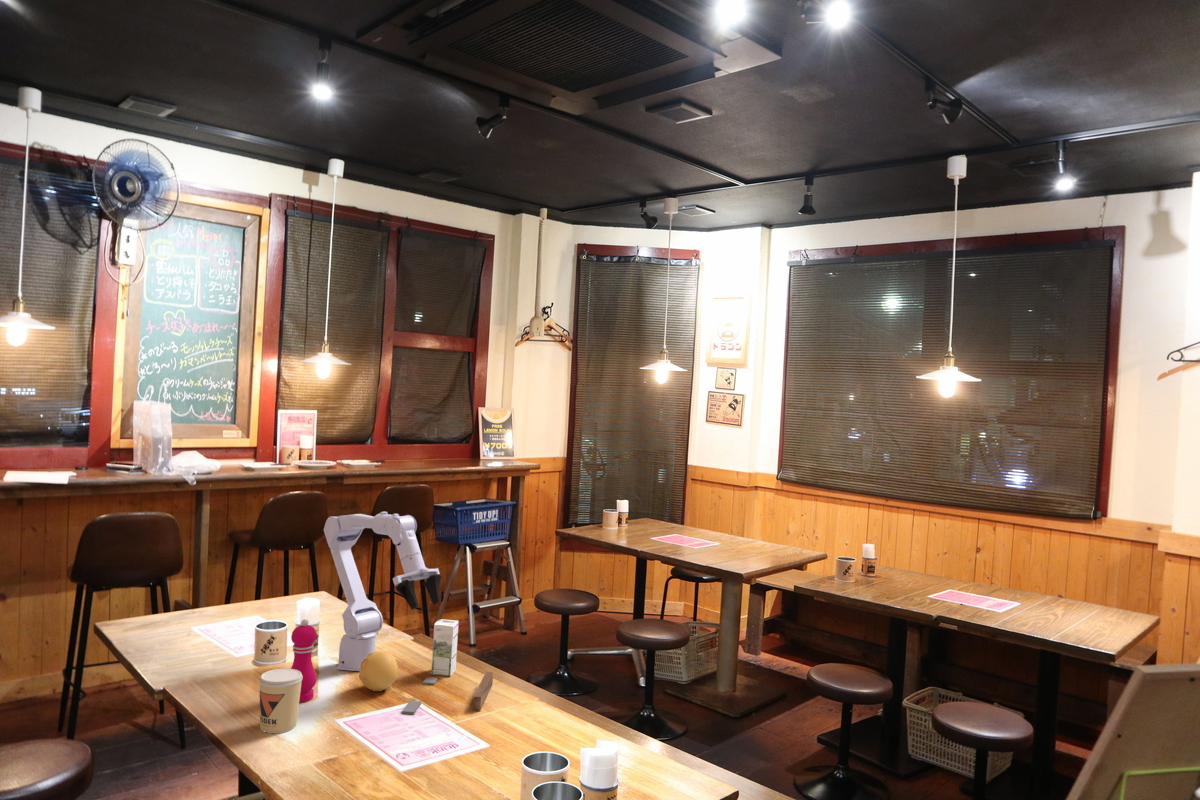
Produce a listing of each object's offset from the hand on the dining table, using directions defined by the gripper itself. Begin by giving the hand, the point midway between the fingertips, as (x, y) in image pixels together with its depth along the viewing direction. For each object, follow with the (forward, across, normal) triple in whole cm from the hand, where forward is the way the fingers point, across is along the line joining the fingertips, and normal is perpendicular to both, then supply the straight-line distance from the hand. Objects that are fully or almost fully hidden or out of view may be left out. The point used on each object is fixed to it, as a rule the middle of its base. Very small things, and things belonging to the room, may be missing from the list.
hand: (426, 605), depth 208 cm
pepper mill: (+11, -25, +26) cm, 38 cm away
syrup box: (+17, +13, +16) cm, 27 cm away
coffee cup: (+16, -38, +17) cm, 44 cm away
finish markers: (+21, -3, +9) cm, 23 cm away
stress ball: (+15, -8, +18) cm, 25 cm away
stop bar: (+27, +8, -2) cm, 28 cm away
